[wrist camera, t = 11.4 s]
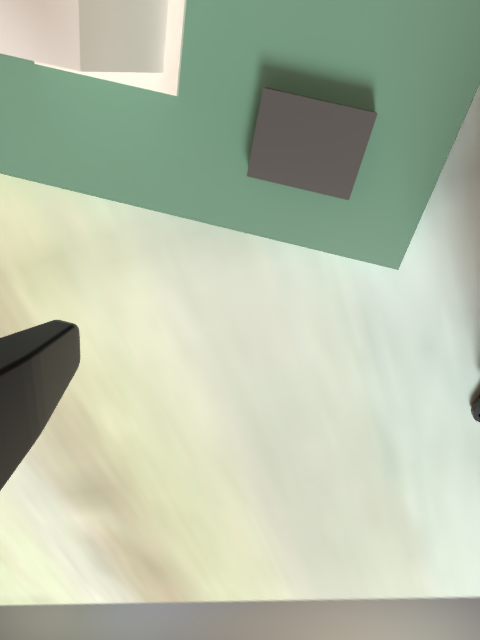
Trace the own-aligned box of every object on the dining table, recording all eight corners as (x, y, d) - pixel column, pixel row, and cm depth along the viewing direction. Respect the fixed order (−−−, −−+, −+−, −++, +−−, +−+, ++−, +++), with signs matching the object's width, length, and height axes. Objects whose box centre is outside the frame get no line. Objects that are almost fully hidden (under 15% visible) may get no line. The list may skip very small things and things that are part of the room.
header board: (597, -220, 11) (689, -320, 8) (394, 258, 18) (406, 290, 16) (-103, -345, 12) (-230, -470, 9) (-23, 158, 19) (-80, 172, 17)
